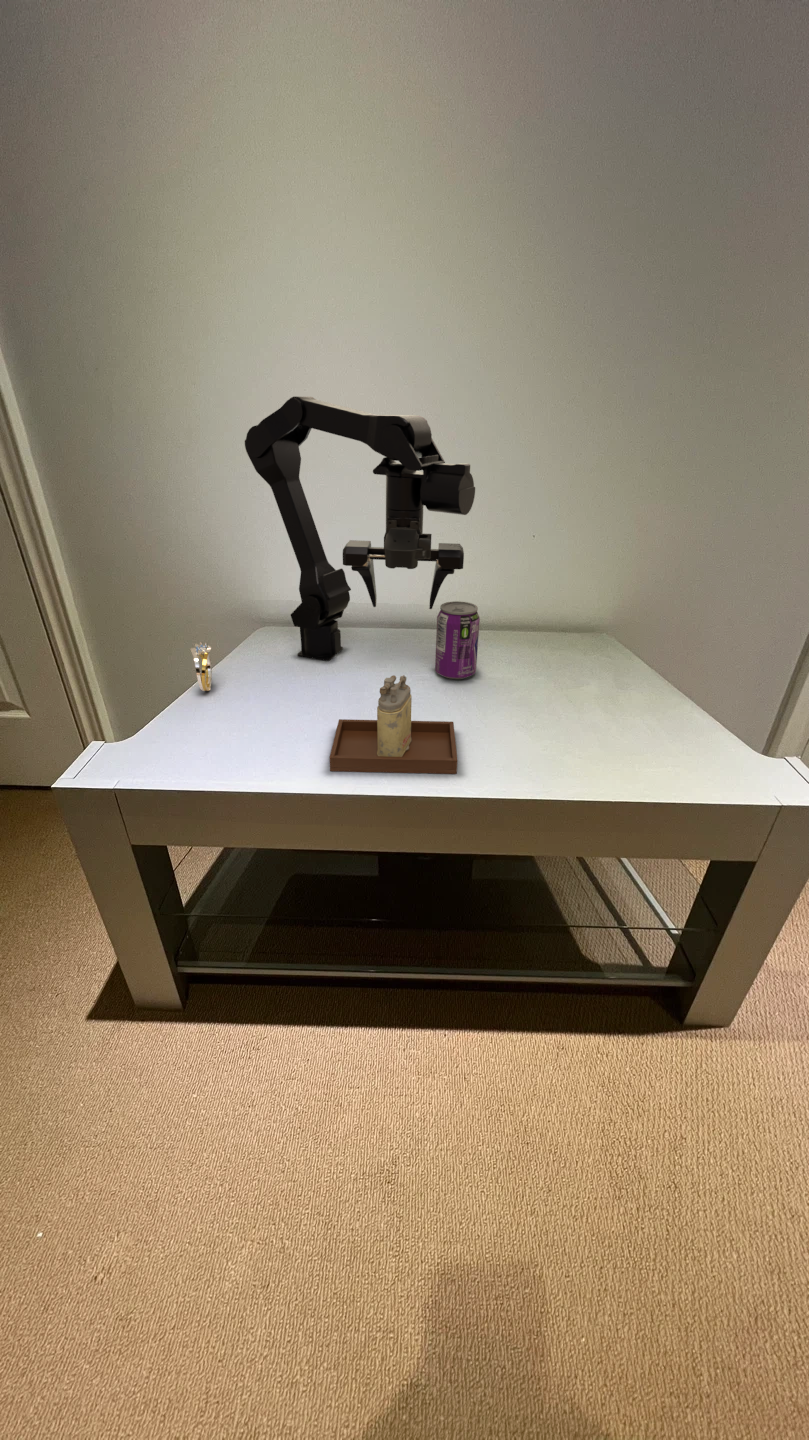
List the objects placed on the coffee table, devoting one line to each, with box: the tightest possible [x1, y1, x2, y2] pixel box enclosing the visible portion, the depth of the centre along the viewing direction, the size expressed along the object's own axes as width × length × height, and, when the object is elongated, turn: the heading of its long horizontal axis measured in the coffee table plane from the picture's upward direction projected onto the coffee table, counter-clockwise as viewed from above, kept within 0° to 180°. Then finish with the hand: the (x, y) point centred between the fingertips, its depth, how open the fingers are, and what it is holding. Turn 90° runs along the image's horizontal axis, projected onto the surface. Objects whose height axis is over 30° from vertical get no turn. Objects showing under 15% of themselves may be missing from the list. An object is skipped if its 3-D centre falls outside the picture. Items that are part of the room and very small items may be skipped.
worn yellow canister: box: [376, 674, 413, 757], centre depth 78 cm, size 7×4×10 cm, turn 163°
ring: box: [190, 641, 213, 692], centre depth 94 cm, size 7×3×8 cm, turn 5°
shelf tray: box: [329, 718, 458, 775], centre depth 80 cm, size 16×10×2 cm, turn 89°
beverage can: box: [434, 600, 481, 680], centre depth 100 cm, size 7×7×12 cm
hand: (402, 607), depth 98 cm, fingers open, 9 cm apart
